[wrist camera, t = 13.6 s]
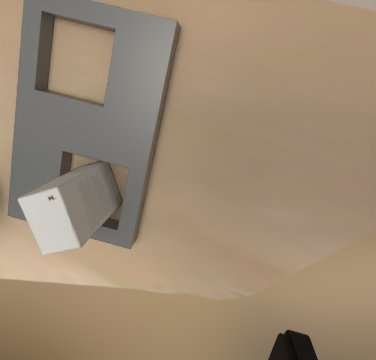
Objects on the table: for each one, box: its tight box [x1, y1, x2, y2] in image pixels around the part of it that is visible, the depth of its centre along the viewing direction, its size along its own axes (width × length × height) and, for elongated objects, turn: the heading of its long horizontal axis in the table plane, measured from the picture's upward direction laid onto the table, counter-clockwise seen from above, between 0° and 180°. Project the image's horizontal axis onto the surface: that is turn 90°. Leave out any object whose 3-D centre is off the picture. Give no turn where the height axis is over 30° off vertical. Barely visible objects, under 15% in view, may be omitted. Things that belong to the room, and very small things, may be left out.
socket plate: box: [8, 0, 180, 249], centre depth 36 cm, size 16×26×2 cm, turn 166°
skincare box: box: [18, 161, 122, 256], centre depth 33 cm, size 6×4×12 cm
